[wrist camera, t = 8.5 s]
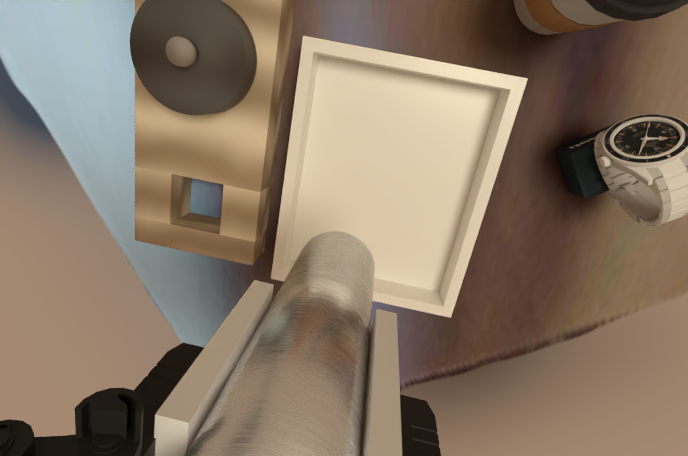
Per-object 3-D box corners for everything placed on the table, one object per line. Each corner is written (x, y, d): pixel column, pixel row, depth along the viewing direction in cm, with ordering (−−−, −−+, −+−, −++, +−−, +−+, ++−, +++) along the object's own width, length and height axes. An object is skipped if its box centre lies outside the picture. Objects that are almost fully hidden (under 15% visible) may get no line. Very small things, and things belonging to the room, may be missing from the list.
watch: (612, 101, 34) (713, 103, 23) (636, 183, 36) (738, 219, 25) (547, 129, 35) (615, 143, 24) (573, 208, 37) (646, 251, 26)
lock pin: (305, 223, 19) (131, 483, 6) (382, 241, 19) (371, 546, 6) (293, 292, 21) (128, 626, 8) (365, 309, 21) (325, 681, 7)
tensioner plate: (163, -24, 34) (97, -60, 26) (295, 0, 34) (267, -29, 26) (157, 227, 42) (106, 256, 34) (264, 250, 42) (236, 284, 34)
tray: (312, 42, 35) (303, 35, 31) (512, 80, 34) (527, 78, 30) (281, 262, 42) (270, 278, 38) (444, 297, 41) (450, 317, 37)
